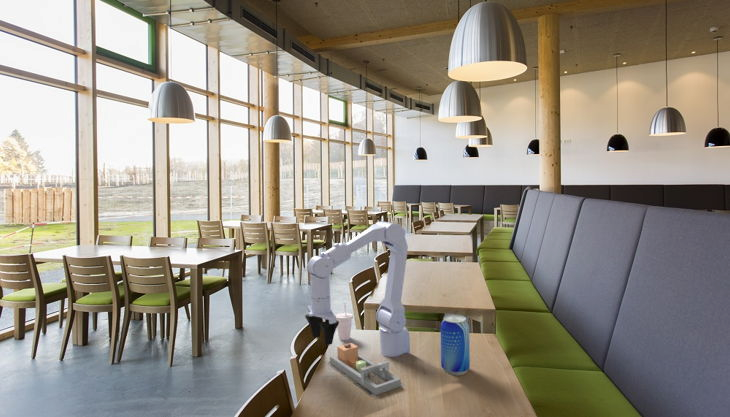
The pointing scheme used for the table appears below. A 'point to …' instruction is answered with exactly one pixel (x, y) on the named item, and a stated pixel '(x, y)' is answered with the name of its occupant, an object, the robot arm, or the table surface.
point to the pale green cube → (360, 366)
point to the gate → (366, 370)
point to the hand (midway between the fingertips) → (322, 340)
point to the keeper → (348, 354)
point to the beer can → (455, 345)
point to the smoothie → (344, 324)
